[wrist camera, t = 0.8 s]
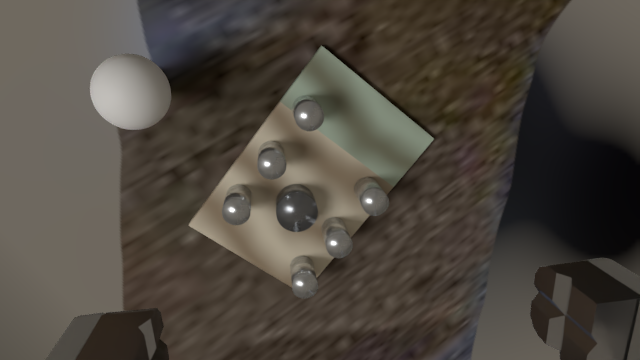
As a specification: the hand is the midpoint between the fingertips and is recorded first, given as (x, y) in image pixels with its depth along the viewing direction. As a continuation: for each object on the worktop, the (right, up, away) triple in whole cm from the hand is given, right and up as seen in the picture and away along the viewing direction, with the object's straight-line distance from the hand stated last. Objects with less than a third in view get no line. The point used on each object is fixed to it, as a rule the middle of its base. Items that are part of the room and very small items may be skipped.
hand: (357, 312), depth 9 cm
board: (-2, +3, +39) cm, 39 cm away
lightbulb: (-17, +13, +34) cm, 40 cm away
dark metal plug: (-4, 0, +39) cm, 39 cm away
